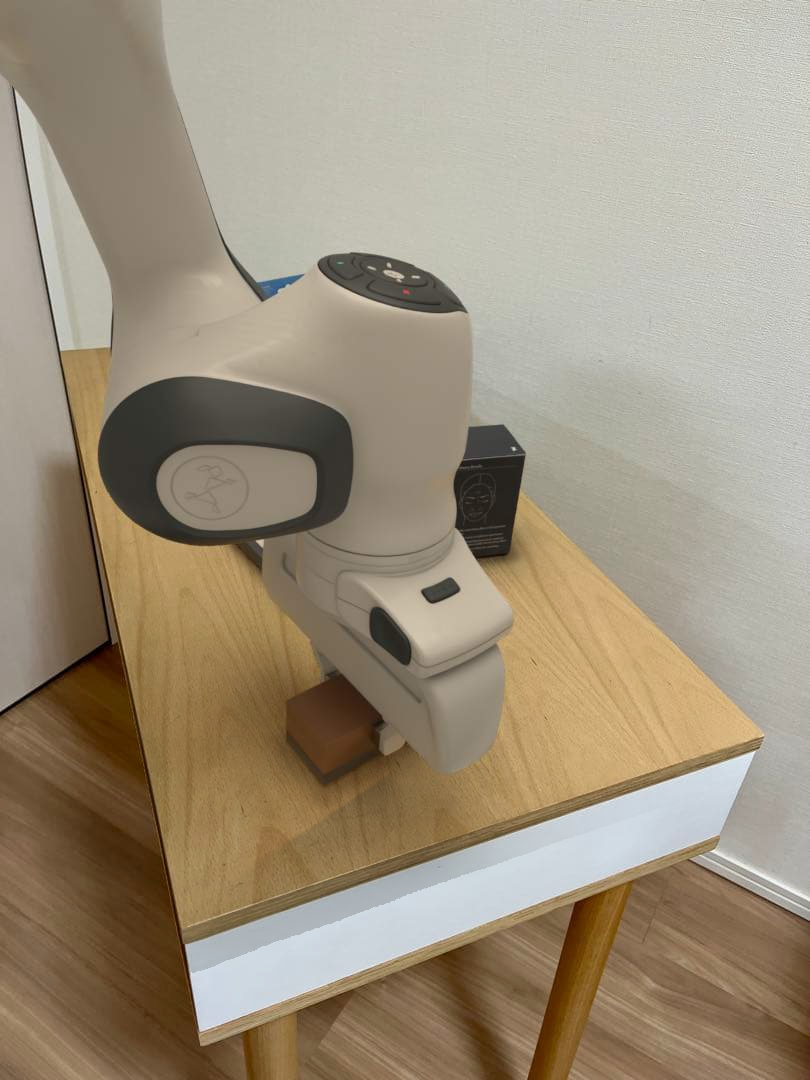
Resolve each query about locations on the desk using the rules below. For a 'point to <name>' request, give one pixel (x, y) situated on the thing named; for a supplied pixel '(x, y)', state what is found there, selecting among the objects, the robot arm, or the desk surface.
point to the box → (488, 489)
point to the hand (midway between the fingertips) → (361, 716)
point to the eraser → (331, 728)
